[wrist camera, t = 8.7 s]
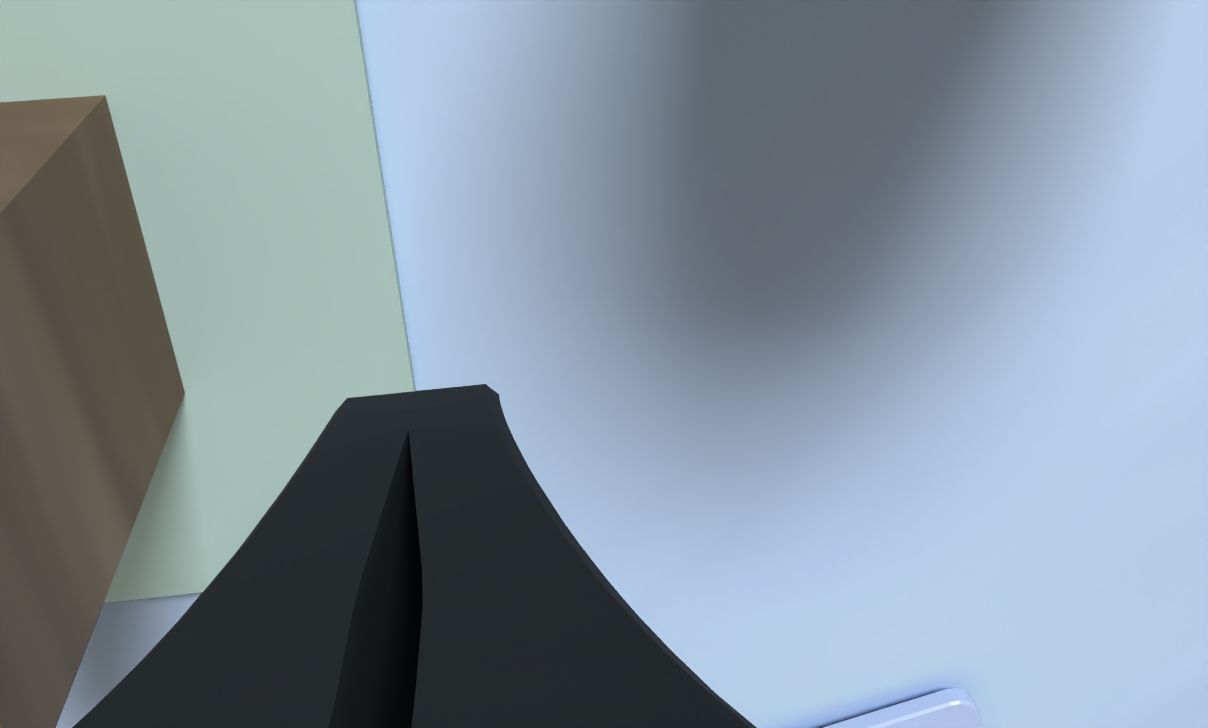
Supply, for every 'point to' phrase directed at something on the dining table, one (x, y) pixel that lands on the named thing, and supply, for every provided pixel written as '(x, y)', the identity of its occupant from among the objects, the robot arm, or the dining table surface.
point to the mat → (235, 240)
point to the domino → (70, 390)
